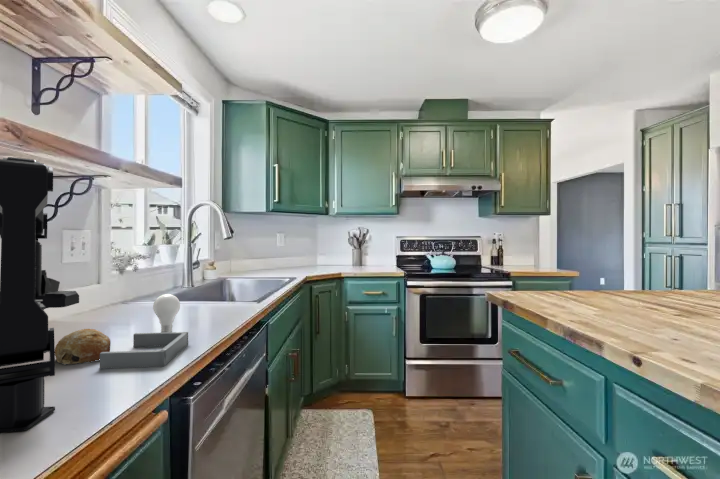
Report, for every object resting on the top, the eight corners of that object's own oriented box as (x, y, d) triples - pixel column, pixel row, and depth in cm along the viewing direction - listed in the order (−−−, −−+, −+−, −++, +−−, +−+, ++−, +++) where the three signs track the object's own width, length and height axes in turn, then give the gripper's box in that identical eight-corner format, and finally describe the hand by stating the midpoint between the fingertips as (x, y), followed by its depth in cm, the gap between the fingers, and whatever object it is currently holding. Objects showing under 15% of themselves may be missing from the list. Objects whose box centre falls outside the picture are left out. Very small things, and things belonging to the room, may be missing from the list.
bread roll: (49, 381, 79) (40, 351, 75) (70, 347, 88) (63, 319, 84) (104, 377, 81) (98, 347, 78) (119, 344, 90) (114, 316, 87)
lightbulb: (172, 339, 98) (172, 296, 98) (147, 338, 98) (148, 295, 98) (184, 332, 104) (184, 292, 104) (161, 332, 104) (161, 292, 104)
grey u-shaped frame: (164, 366, 78) (164, 351, 78) (99, 368, 76) (99, 353, 76) (188, 344, 93) (188, 331, 93) (135, 345, 92) (135, 333, 92)
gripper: (93, 263, 90) (92, 330, 91) (4, 263, 88) (4, 332, 88) (63, 267, 79) (63, 343, 79) (-40, 267, 77) (-40, 345, 77)
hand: (23, 340), depth 81 cm, fingers closed
